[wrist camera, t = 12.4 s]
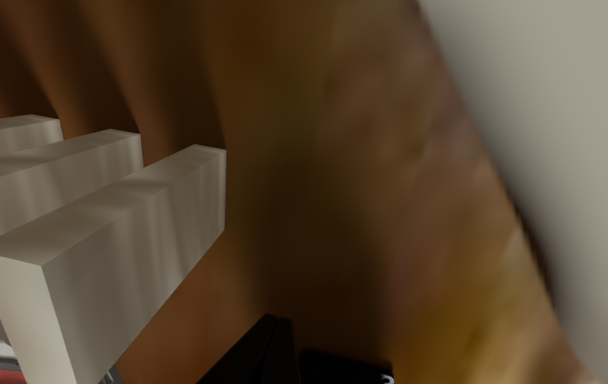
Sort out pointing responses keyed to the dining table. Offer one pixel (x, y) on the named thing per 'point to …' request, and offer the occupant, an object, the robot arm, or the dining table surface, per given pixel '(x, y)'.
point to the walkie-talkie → (8, 375)
